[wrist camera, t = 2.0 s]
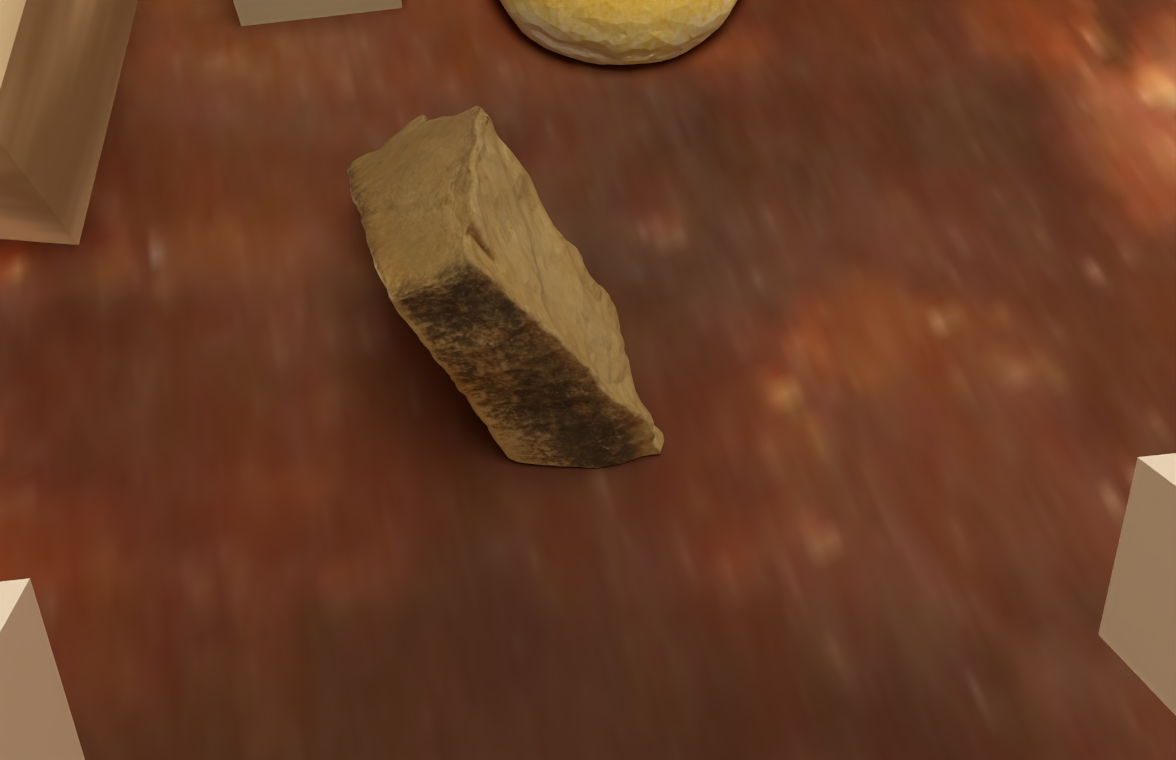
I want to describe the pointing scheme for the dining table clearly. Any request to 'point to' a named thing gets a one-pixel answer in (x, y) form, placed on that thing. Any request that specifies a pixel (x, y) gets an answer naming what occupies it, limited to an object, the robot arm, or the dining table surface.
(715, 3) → the bread roll
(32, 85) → the beech block
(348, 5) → the pale cream cube
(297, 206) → the dining table surface
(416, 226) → the rock
